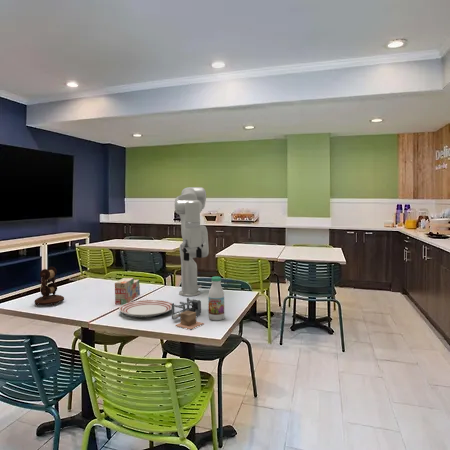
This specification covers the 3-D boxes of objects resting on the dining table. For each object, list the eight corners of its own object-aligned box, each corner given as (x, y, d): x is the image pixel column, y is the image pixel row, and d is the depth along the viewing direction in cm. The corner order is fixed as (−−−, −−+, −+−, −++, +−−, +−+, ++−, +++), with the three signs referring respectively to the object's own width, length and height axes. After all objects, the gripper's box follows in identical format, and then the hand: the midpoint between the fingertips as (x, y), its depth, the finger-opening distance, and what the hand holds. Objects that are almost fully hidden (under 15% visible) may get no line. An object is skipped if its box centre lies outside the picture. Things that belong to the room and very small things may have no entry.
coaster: (188, 320, 169) (188, 319, 169) (203, 324, 164) (203, 323, 164) (175, 326, 162) (175, 324, 162) (190, 330, 157) (190, 328, 157)
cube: (196, 323, 164) (196, 312, 164) (188, 326, 160) (188, 315, 160) (187, 321, 167) (187, 310, 167) (180, 324, 163) (180, 313, 163)
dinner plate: (140, 302, 201) (140, 296, 201) (183, 307, 191) (183, 301, 191) (107, 317, 175) (107, 310, 175) (155, 324, 165) (155, 317, 165)
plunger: (193, 311, 183) (193, 299, 182) (201, 312, 180) (200, 301, 180) (169, 320, 168) (169, 308, 168) (177, 322, 166) (176, 309, 165)
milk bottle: (208, 315, 176) (207, 275, 175) (223, 315, 177) (223, 275, 175) (208, 321, 168) (208, 279, 167) (225, 320, 169) (224, 278, 168)
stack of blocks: (130, 294, 218) (129, 274, 217) (140, 294, 217) (139, 274, 216) (115, 304, 196) (114, 282, 196) (126, 305, 196) (125, 282, 195)
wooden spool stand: (44, 299, 206) (42, 265, 205) (69, 300, 206) (67, 265, 204) (28, 307, 192) (27, 270, 190) (55, 307, 191) (54, 270, 189)
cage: (188, 312, 182) (188, 297, 181) (200, 315, 177) (200, 300, 177) (171, 318, 172) (171, 303, 171) (184, 321, 167) (183, 306, 167)
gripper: (197, 223, 190) (198, 255, 191) (175, 226, 175) (175, 260, 177) (209, 224, 185) (209, 257, 187) (186, 227, 171) (187, 262, 173)
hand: (192, 258), depth 182 cm, fingers open, 9 cm apart
